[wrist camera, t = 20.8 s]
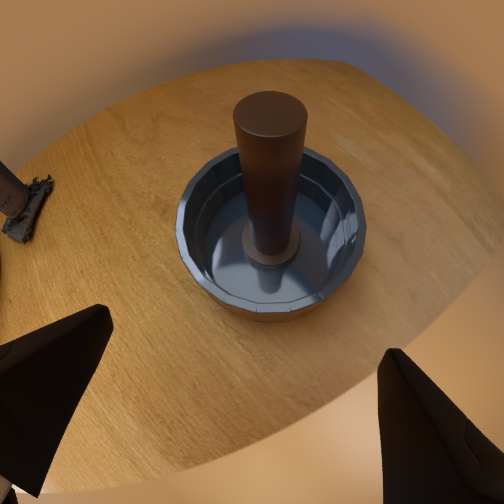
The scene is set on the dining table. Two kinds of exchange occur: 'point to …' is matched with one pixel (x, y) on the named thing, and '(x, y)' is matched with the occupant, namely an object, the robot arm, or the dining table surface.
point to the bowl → (236, 216)
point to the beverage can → (20, 203)
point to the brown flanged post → (270, 174)
